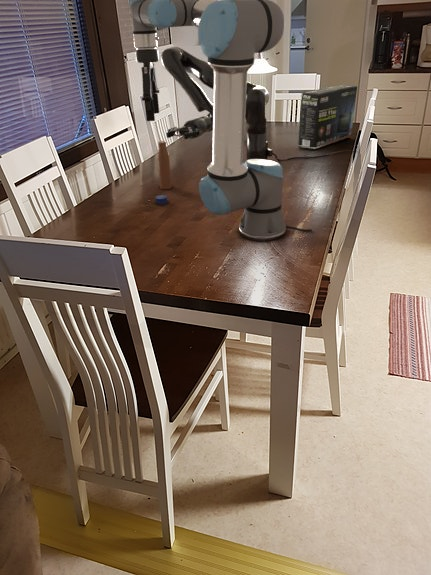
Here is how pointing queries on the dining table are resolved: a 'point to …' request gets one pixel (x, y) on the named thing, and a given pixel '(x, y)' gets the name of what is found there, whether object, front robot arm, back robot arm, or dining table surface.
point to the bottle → (164, 166)
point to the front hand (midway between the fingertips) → (153, 117)
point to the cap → (161, 199)
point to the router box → (326, 115)
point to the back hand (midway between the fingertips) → (176, 136)
